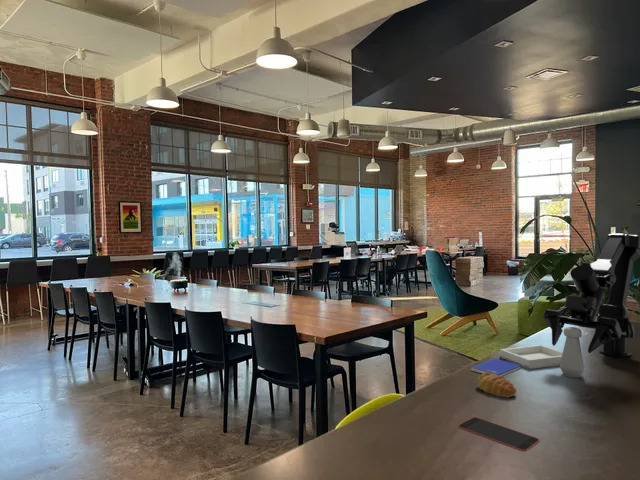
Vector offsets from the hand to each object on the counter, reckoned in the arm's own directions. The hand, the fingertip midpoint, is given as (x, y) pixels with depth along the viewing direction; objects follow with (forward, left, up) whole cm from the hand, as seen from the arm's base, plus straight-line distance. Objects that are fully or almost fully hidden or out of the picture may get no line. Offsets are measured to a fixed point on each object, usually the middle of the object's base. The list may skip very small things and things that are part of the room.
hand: (570, 348), depth 124 cm
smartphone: (+42, +22, -8) cm, 48 cm away
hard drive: (+15, -11, -8) cm, 21 cm away
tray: (-2, -14, -8) cm, 16 cm away
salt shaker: (-1, 0, -8) cm, 8 cm away
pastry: (+26, +2, -8) cm, 28 cm away
